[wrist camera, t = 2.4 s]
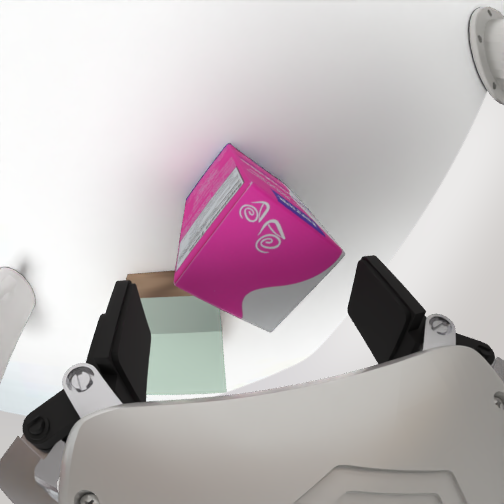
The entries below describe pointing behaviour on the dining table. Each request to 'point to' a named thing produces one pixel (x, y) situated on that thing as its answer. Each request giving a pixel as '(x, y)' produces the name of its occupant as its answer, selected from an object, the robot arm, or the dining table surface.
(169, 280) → the walnut base block
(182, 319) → the sage top block
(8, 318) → the mug
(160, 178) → the dining table surface
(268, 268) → the supplement box
